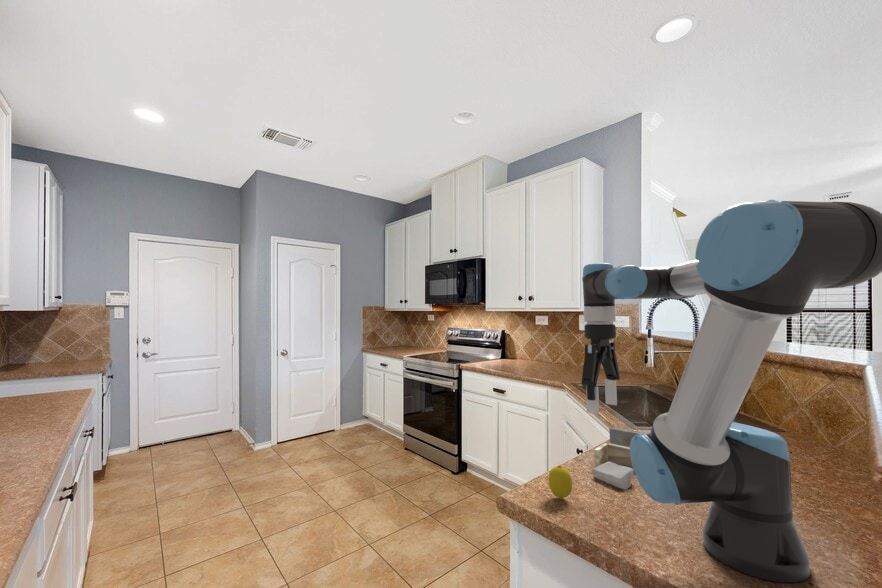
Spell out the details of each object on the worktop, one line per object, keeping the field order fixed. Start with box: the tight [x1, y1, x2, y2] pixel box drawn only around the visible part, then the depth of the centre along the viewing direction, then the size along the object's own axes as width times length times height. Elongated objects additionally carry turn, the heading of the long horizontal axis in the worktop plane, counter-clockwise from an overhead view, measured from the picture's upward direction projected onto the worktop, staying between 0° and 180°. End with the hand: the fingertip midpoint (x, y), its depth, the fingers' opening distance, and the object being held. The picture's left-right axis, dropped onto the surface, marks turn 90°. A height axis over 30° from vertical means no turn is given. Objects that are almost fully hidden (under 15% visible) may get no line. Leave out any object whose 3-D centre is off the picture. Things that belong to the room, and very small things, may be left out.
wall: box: [609, 426, 648, 447], centre depth 118 cm, size 2×16×8 cm, turn 47°
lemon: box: [548, 464, 573, 500], centre depth 93 cm, size 6×6×8 cm
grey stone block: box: [593, 461, 635, 491], centre depth 103 cm, size 10×6×6 cm, turn 27°
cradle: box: [593, 442, 633, 468], centre depth 110 cm, size 8×14×5 cm, turn 47°
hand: (602, 408), depth 99 cm, fingers open, 11 cm apart
